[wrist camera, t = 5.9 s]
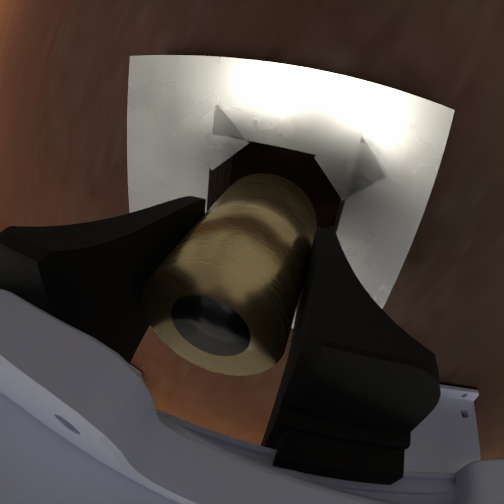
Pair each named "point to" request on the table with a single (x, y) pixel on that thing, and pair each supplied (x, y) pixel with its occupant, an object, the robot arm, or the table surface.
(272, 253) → the bushing
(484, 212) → the table surface
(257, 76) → the jig
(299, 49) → the table surface
